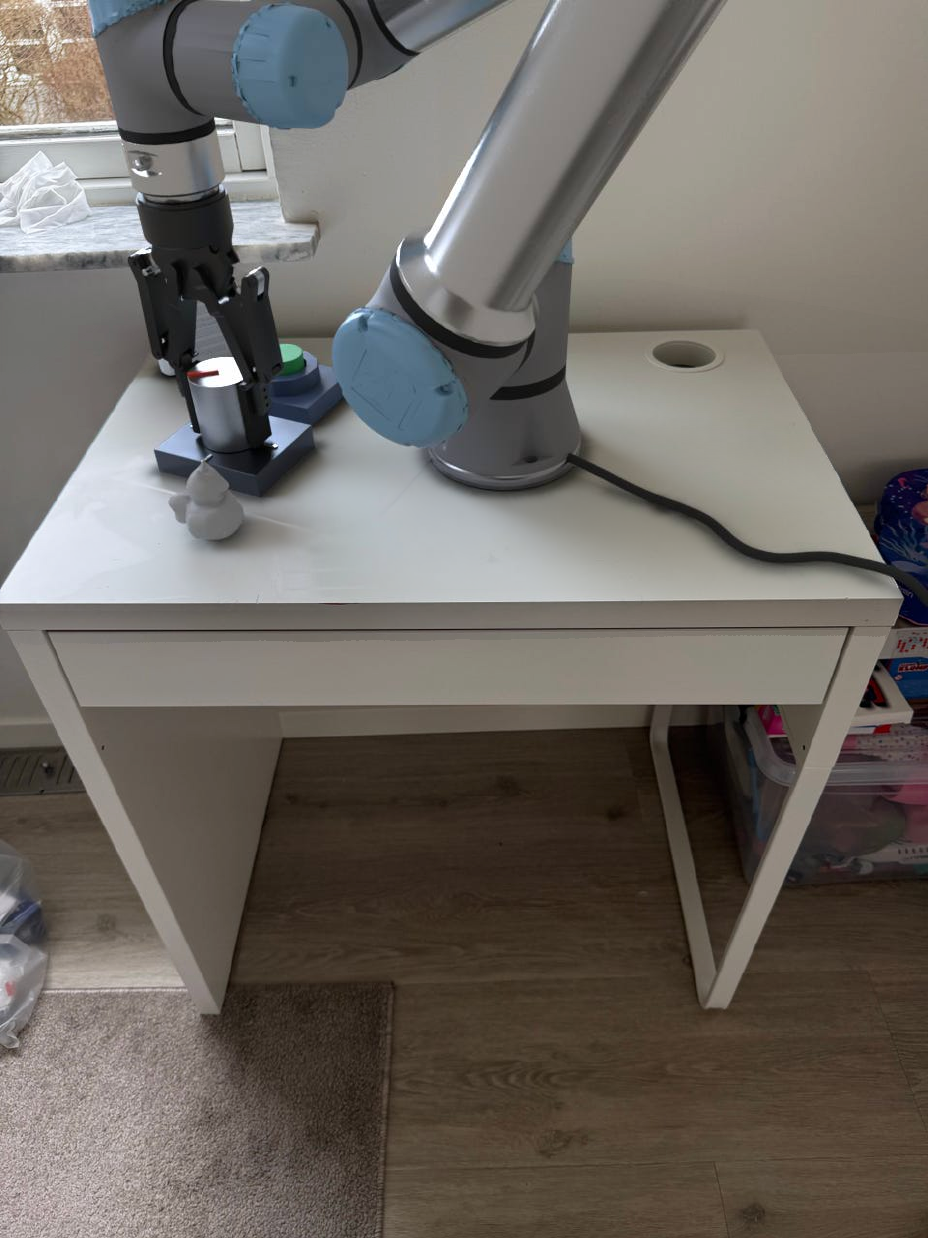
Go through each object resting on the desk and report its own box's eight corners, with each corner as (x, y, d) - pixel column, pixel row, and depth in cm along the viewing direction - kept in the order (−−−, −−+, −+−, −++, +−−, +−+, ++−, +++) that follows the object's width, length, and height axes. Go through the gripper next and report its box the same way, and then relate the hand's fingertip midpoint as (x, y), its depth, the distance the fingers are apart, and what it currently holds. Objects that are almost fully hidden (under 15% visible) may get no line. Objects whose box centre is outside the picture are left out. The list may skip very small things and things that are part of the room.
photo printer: (237, 343, 114) (217, 240, 106) (252, 356, 112) (232, 251, 104) (155, 367, 110) (128, 261, 102) (168, 381, 108) (141, 274, 99)
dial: (260, 416, 96) (247, 350, 91) (267, 446, 92) (254, 378, 87) (200, 426, 95) (184, 359, 90) (205, 457, 91) (188, 388, 86)
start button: (312, 362, 103) (310, 347, 101) (290, 380, 100) (287, 365, 98) (278, 355, 104) (275, 340, 103) (255, 373, 101) (252, 358, 100)
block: (352, 388, 105) (348, 355, 103) (309, 427, 99) (304, 393, 97) (269, 371, 109) (264, 338, 106) (223, 407, 103) (216, 373, 100)
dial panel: (315, 445, 97) (312, 423, 95) (259, 498, 90) (254, 475, 88) (219, 422, 101) (214, 400, 99) (158, 471, 94) (151, 448, 92)
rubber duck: (238, 552, 84) (220, 476, 78) (166, 548, 84) (144, 472, 79) (255, 516, 88) (239, 441, 82) (187, 512, 88) (167, 438, 83)
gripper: (60, 187, 78) (131, 431, 94) (249, 218, 72) (292, 474, 88) (120, 161, 83) (179, 397, 99) (302, 187, 77) (335, 435, 93)
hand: (232, 433), depth 93 cm, fingers closed on dial, 6 cm apart
